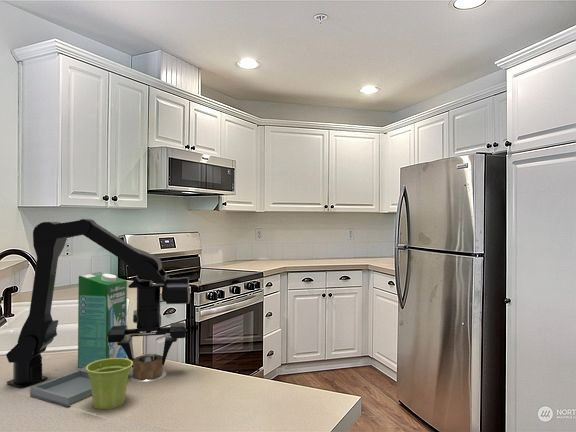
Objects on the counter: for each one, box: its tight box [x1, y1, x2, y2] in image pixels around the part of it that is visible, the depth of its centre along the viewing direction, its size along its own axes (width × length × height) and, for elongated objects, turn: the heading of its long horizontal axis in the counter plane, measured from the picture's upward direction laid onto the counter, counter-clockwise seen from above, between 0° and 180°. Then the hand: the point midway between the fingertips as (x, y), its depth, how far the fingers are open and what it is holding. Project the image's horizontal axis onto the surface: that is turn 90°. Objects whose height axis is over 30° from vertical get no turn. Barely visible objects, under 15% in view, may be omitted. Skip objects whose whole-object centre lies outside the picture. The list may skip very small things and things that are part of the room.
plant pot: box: [85, 357, 133, 410], centre depth 91 cm, size 9×9×9 cm
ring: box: [132, 353, 164, 380], centre depth 108 cm, size 7×9×4 cm
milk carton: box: [77, 271, 128, 368], centre depth 117 cm, size 9×9×25 cm
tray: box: [29, 369, 92, 408], centre depth 98 cm, size 13×13×2 cm
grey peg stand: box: [128, 353, 167, 383], centre depth 107 cm, size 9×9×5 cm
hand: (148, 365), depth 107 cm, fingers closed on ring, 7 cm apart
